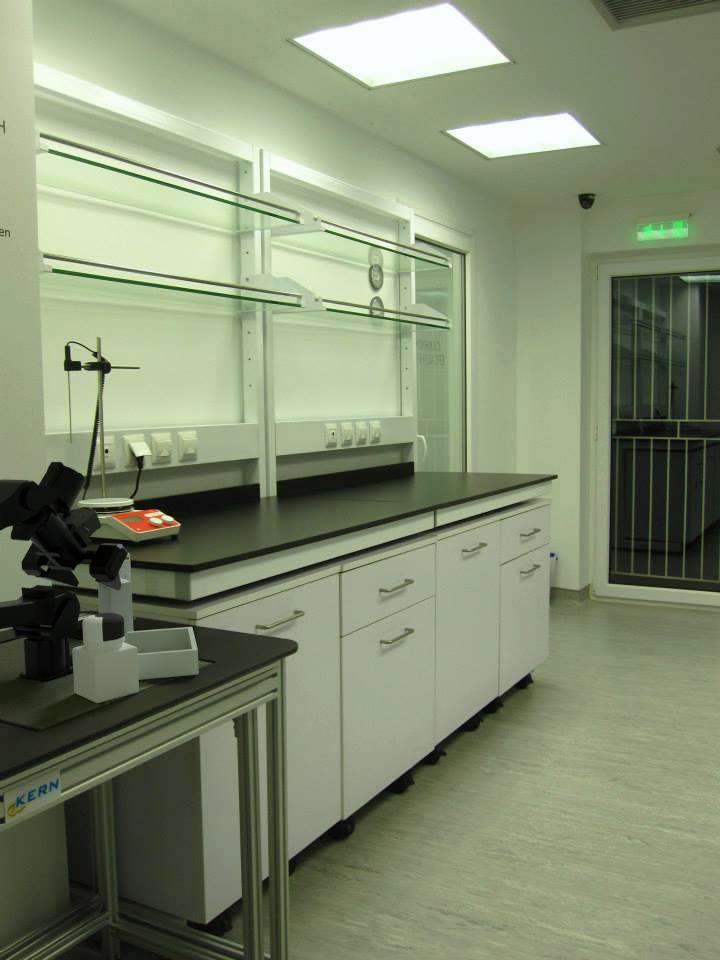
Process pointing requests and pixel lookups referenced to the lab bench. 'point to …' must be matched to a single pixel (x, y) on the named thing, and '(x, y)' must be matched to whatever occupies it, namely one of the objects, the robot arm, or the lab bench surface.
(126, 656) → the medicine bottle
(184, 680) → the lab bench surface
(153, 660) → the open box
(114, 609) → the skincare box
